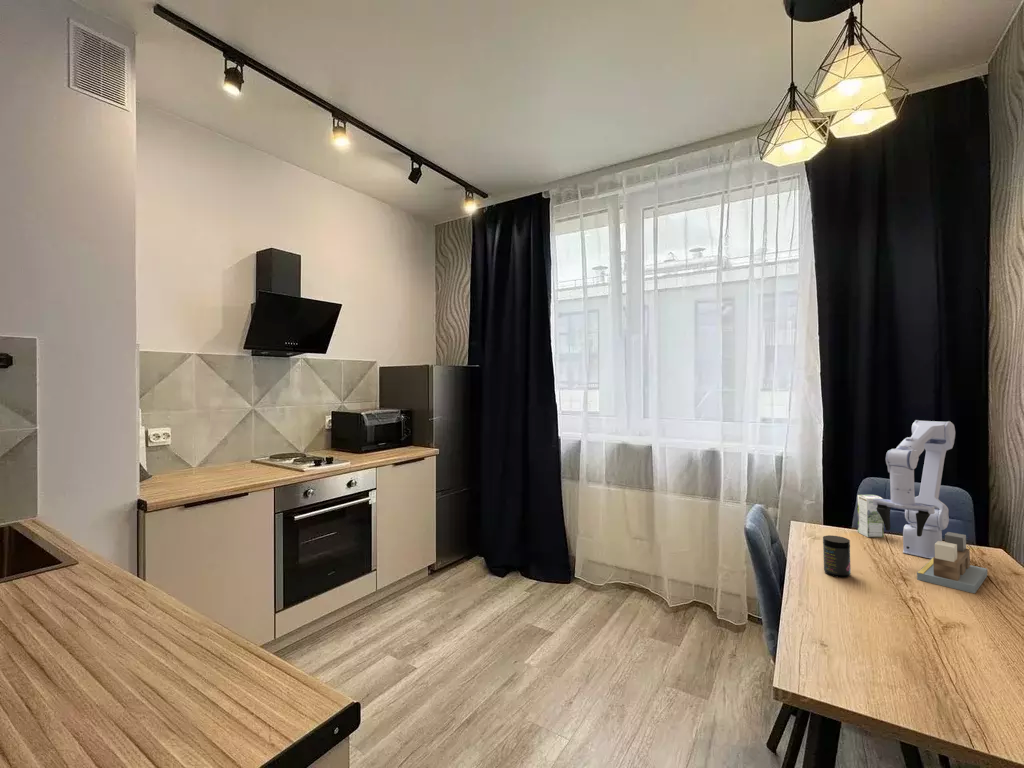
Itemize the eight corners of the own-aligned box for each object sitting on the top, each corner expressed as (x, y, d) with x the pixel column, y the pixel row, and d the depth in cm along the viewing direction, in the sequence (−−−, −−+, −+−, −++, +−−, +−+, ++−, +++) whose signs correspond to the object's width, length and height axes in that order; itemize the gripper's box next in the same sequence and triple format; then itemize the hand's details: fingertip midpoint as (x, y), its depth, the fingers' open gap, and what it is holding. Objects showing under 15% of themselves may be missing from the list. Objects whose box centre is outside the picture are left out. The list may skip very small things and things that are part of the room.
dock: (917, 579, 136) (916, 572, 136) (933, 563, 147) (933, 556, 147) (974, 593, 126) (974, 585, 126) (987, 575, 137) (987, 568, 137)
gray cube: (945, 548, 141) (944, 534, 141) (948, 545, 143) (947, 531, 143) (963, 551, 138) (963, 538, 138) (966, 548, 140) (965, 535, 140)
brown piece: (933, 575, 134) (933, 557, 134) (947, 561, 143) (946, 544, 143) (957, 581, 130) (957, 562, 130) (970, 566, 140) (969, 549, 140)
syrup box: (873, 532, 177) (872, 494, 177) (884, 537, 171) (883, 497, 171) (857, 532, 178) (856, 494, 178) (867, 537, 172) (866, 497, 172)
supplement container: (848, 580, 137) (847, 544, 137) (820, 574, 142) (819, 539, 142) (853, 573, 141) (852, 538, 141) (826, 567, 146) (825, 533, 146)
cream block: (934, 558, 134) (934, 543, 134) (938, 554, 136) (938, 540, 136) (954, 562, 130) (953, 547, 130) (957, 558, 133) (956, 544, 133)
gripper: (869, 486, 149) (870, 529, 149) (929, 494, 137) (930, 541, 137) (876, 483, 153) (877, 525, 153) (935, 490, 142) (937, 536, 142)
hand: (903, 532), depth 145 cm, fingers open, 7 cm apart
